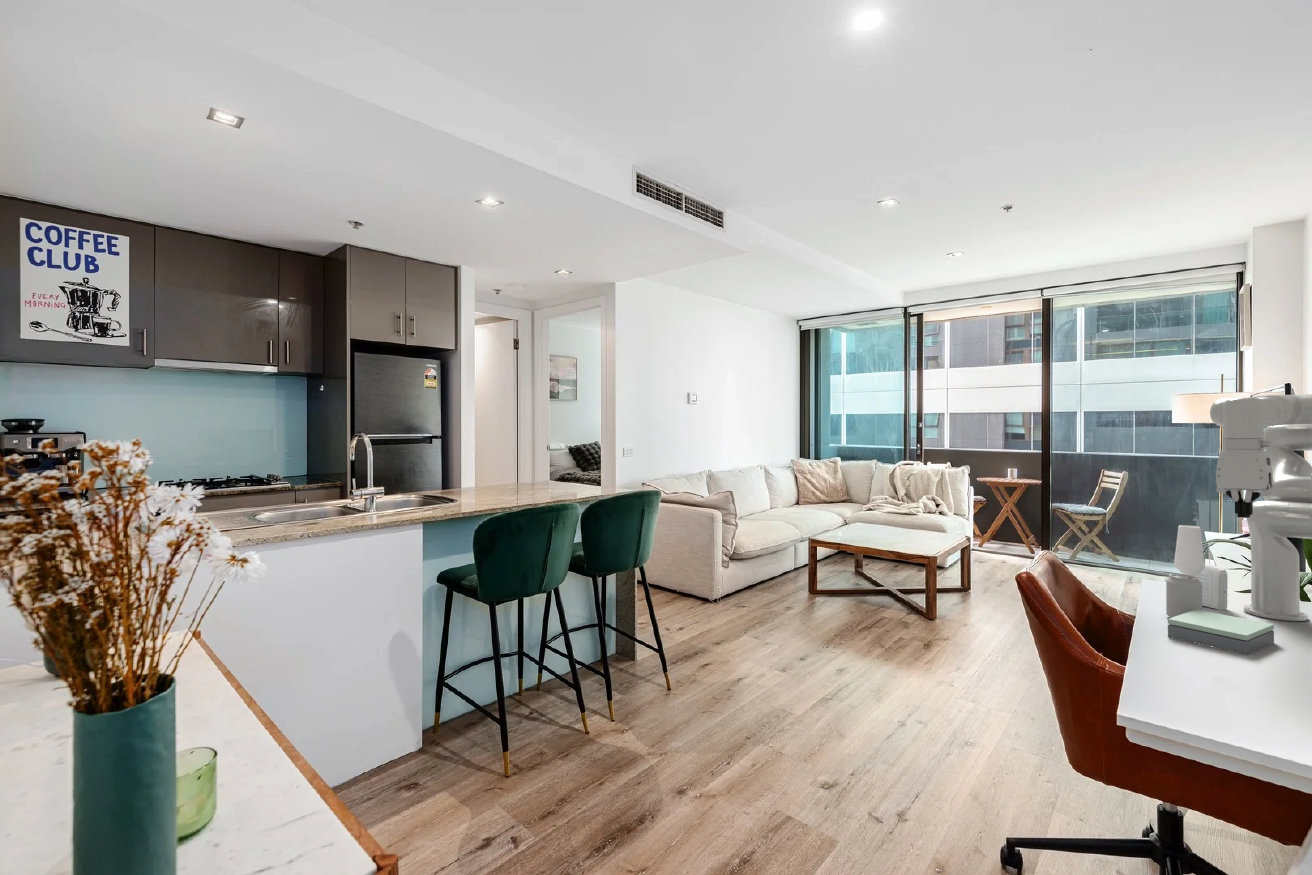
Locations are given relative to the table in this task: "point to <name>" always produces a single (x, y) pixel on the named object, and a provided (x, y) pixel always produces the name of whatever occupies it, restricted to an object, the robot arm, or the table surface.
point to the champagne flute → (1189, 550)
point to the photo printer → (1214, 587)
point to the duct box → (1222, 639)
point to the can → (1183, 594)
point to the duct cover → (1221, 624)
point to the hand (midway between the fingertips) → (1243, 517)
